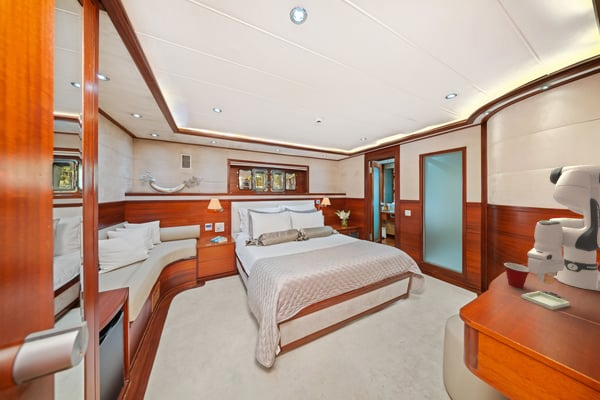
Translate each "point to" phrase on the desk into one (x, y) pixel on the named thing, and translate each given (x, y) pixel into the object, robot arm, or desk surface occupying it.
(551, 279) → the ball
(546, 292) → the coaster
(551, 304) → the tray
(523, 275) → the plastic cup
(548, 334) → the desk surface
